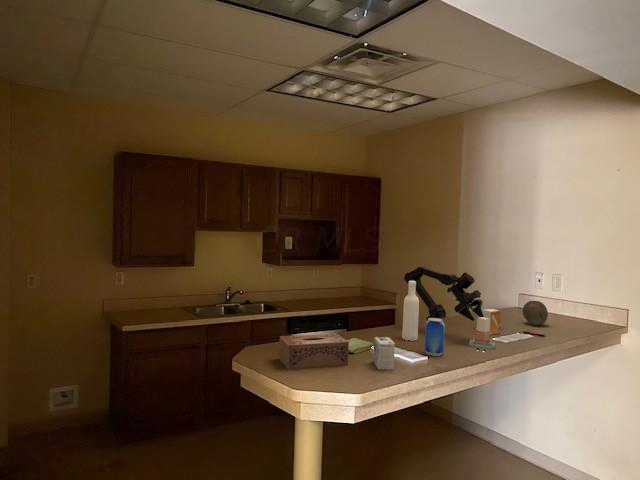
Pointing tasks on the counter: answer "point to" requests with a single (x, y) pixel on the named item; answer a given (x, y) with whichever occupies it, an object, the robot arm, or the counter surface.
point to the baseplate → (482, 344)
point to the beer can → (434, 337)
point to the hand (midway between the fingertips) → (478, 319)
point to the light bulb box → (384, 353)
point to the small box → (492, 320)
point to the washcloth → (358, 345)
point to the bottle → (410, 314)
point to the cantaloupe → (535, 312)
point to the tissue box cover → (313, 351)
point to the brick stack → (482, 329)
